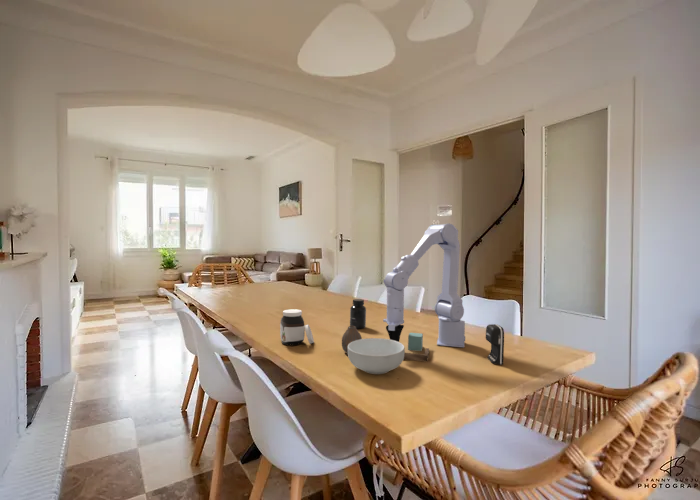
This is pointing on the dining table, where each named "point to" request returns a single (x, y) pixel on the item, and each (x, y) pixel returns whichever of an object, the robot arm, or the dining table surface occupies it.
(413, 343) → the block
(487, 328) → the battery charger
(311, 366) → the dining table surface
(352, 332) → the vase
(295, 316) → the spread jar
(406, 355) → the brown angular piece
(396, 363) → the cereal bowl
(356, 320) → the supplement bottle
